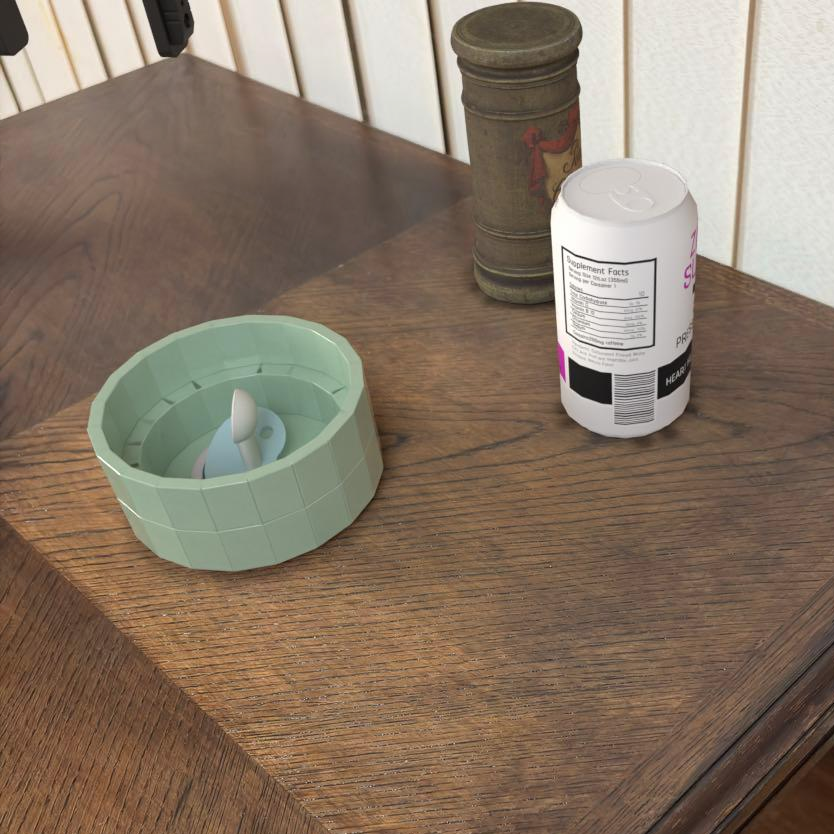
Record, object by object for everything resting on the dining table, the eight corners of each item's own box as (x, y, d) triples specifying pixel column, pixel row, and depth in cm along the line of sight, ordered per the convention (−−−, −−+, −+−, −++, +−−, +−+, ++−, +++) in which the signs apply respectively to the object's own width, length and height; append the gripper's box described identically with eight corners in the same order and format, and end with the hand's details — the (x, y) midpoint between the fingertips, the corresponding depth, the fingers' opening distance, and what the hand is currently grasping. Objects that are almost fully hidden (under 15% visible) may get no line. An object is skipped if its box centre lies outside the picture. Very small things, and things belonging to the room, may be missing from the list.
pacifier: (187, 525, 63) (287, 510, 63) (149, 446, 59) (257, 430, 59) (200, 444, 68) (292, 430, 68) (166, 366, 64) (265, 351, 64)
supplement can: (539, 390, 71) (523, 179, 60) (646, 350, 73) (649, 139, 62) (600, 461, 65) (594, 244, 55) (713, 415, 68) (729, 198, 57)
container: (465, 304, 78) (431, 54, 65) (486, 239, 84) (459, -2, 71) (587, 307, 77) (578, 53, 64) (599, 241, 83) (593, -4, 70)
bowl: (88, 568, 62) (39, 481, 57) (184, 398, 72) (151, 311, 67) (347, 584, 60) (321, 495, 55) (408, 406, 70) (390, 317, 65)
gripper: (157, -401, 42) (255, 21, 54) (-166, -386, 44) (-3, 19, 56) (74, -373, 37) (203, 87, 49) (-286, -357, 39) (-78, 82, 51)
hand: (93, 50), depth 53 cm, fingers open, 8 cm apart
